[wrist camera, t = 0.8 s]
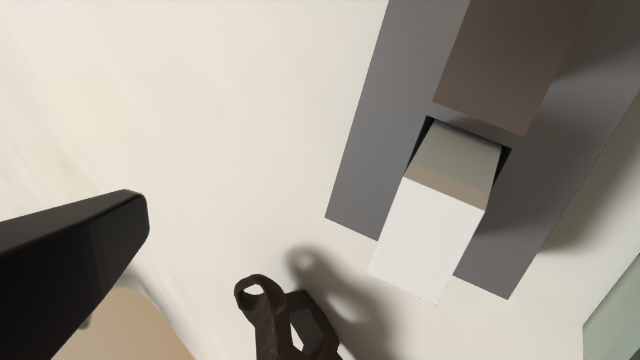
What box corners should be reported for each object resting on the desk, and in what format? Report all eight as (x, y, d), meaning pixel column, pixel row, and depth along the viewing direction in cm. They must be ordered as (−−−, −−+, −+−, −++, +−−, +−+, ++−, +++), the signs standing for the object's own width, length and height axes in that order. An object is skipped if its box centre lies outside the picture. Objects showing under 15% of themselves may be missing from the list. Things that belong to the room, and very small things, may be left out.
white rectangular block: (508, 119, 21) (485, 211, 15) (469, 199, 23) (436, 305, 17) (447, 96, 21) (402, 176, 15) (415, 176, 23) (366, 272, 18)
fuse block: (721, -91, 15) (749, -85, 13) (514, 255, 23) (507, 299, 21) (458, -163, 17) (438, -169, 14) (348, 184, 25) (324, 217, 22)
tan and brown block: (594, -56, 17) (606, -22, 11) (538, 60, 19) (524, 136, 14) (518, -79, 17) (492, -57, 12) (471, 36, 20) (431, 101, 14)
